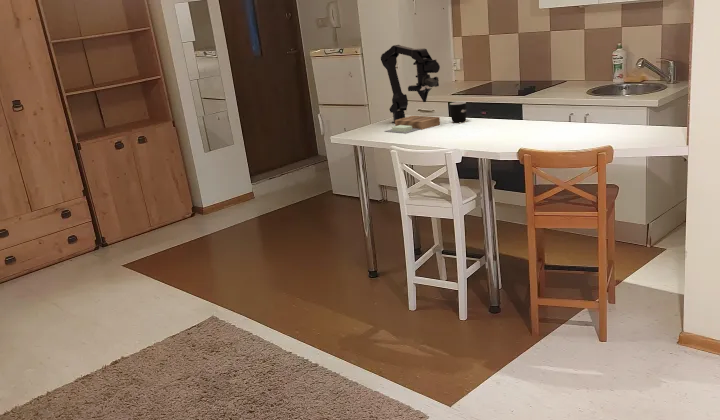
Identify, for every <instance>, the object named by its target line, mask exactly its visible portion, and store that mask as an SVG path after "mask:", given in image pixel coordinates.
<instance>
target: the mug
mask: <svg viewBox="0 0 720 420" xmlns="http://www.w3.org/2000/svg"><path fill="white" fill-rule="evenodd" d="M449 111H450V117H451V121H452V122H453V123H454V124H460V123H459V122H461V123H464V121H466V118H467V102H466V101H456V102H450V103H449Z"/></svg>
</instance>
